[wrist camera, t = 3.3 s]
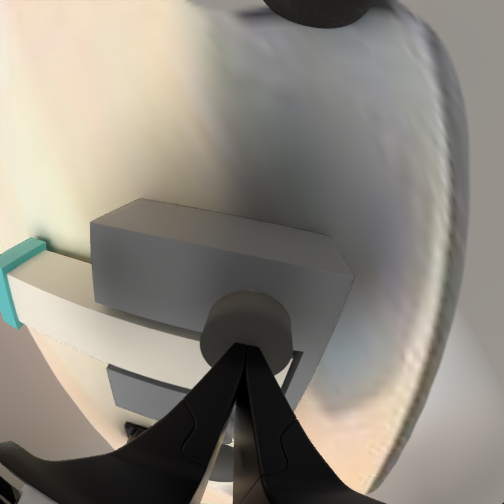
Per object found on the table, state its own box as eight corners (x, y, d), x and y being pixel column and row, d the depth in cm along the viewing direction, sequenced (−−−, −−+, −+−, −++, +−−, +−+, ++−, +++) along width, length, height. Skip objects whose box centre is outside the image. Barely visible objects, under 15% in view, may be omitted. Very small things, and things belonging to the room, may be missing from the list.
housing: (276, 390, 21) (274, 460, 15) (140, 360, 21) (108, 419, 15) (330, 236, 16) (365, 294, 10) (139, 198, 16) (71, 231, 10)
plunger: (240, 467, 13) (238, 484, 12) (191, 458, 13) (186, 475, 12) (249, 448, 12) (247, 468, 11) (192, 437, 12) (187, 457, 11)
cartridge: (272, 358, 19) (270, 415, 14) (39, 291, 19) (3, 321, 14) (291, 300, 17) (296, 355, 12) (31, 237, 17) (-12, 261, 12)
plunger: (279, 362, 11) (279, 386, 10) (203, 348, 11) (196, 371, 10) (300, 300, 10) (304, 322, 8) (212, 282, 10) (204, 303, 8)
